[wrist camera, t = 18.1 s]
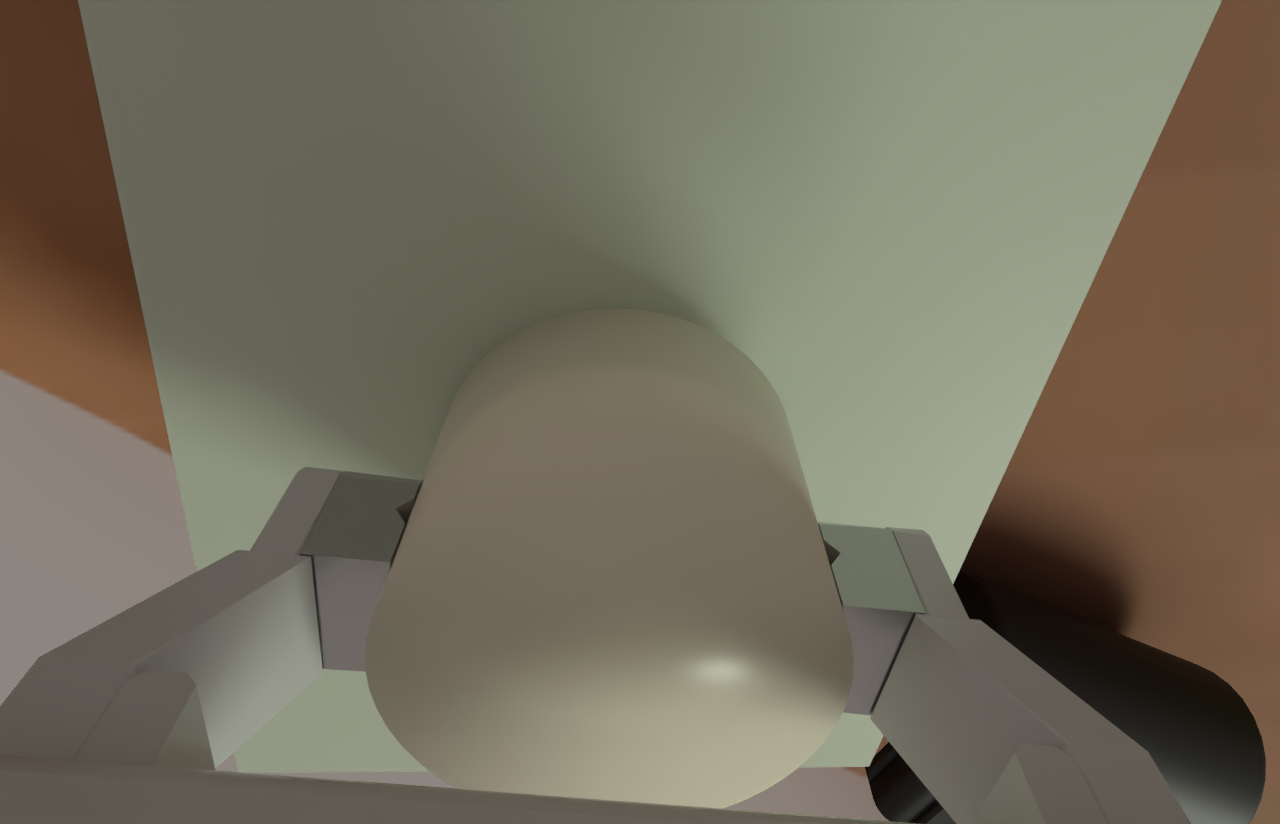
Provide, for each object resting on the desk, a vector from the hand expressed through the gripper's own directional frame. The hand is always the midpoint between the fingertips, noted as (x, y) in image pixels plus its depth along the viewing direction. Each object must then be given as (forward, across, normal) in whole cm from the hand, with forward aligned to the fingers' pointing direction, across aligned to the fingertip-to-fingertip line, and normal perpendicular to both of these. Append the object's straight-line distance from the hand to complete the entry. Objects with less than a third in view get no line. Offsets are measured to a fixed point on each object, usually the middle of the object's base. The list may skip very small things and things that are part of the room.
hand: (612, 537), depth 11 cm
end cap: (+12, -15, +13) cm, 23 cm away
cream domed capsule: (+2, 0, 0) cm, 2 cm away
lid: (+3, 0, 0) cm, 3 cm away
